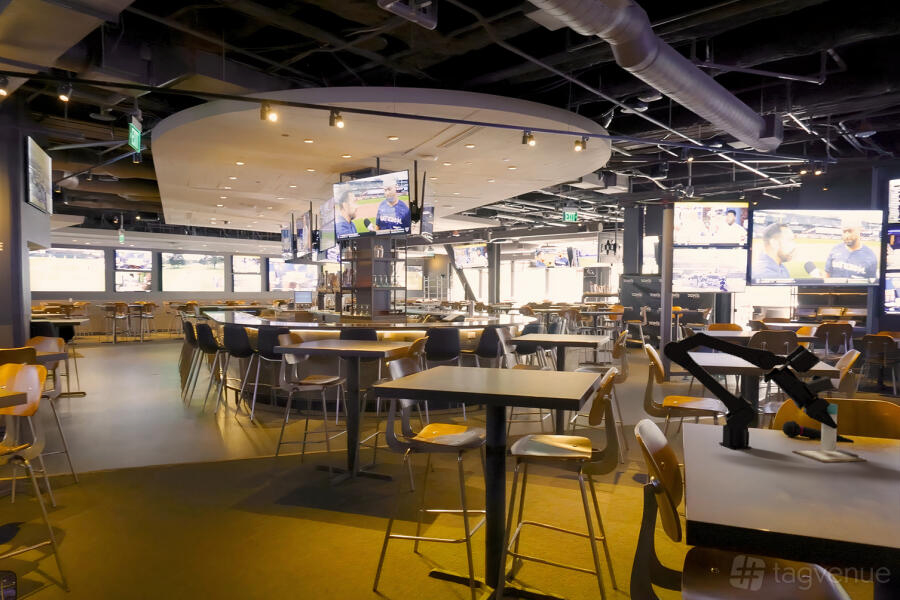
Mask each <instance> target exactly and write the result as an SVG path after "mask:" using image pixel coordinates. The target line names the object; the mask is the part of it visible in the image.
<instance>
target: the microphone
mask: <svg viewBox="0 0 900 600" xmlns="http://www.w3.org/2000/svg"><path fill="white" fill-rule="evenodd" d="M782 432H783V433H784V435H785V436H787V437H789V438H792V439H794V438H797V437H799V436H800V437H803V438H808V439H810V440H821V430H819V429H816V428H811V427H808V426H804V425H800V424H799V423H797V422H796V421H795V420H791V421H785V422H784V423H783V424H782ZM836 442H837V443H838V442H839V443H840V442H844V443H845V442H846V443H854V439H850V438H847V437H844V436H843V435H840V434H838V433H836Z"/></svg>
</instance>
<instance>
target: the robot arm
mask: <svg viewBox="0 0 900 600" xmlns="http://www.w3.org/2000/svg"><path fill="white" fill-rule="evenodd" d="M700 346H702V347H706V348H709V349H712V350H715V351H718V352H721V353H724V354H726V355H730V356H733V357H736V358H739V359H741V360H744V361H746V363H749V364H751V365H752V366H755V367H757V368H759V369H761V370H764V371H768V372H763V373H762V375H763V383H766V384H768V383H769V382H770V381H772V382H773V383H774V384H775V385H776V386H777V387H778V388H779V389H780V390H781V391H782V392H783V393H784V394H785V395H786V396H787V397H788V398H790V399H791V400H792V401H793V403H794V405H795V407H796V408H798V409H799V410H802V409H803V410H802V412H803V413H804V414H806V415H807V416H808V418H810V419H813V420H815V421H817V422H819V423H820V424H822V423H823V424H825V425H827V426H829V427H831V428H834V429H836V428H838V427H839V426H838V425H836V423H835V422H834V420H833V419H832V417H831V416H830V414H829V413H828V411H827V408H828V406H829V405H830V404H831V403H830V402H828V400H827V399H825V398H824V397H820V394H819V393H822V392H825V391H829V390H830V391H831V390H833V389H835V386H834V384H833V382H832V380H831V378H830V377H829V376H821V375H819V374H815V375H812V376H811V380H809V381H808V382H806V381H804V380H803V379H802V380H801V378H800V377H799V376H798V375H799V374H800V373H801V374H803V375H805V374H806V373H808V372H809V371H811V370H812V369H813V368H814V367H815V366H817V365H818V364H819V363H821V360H820V358H819V357H818V356H817V355H815V354H814V353H813V352H811V351H810V350H808V349H807V348H806V347H805V346H804V345H803V344H799V345H797V346H796V347H795V348H794V350H792V351H791V352H790V353H788V354H787V355H786V356H784V355H782V354H781V355H777V354H775V353H774V352H773V351H771V350H769V349H764V348H759V347H758V348H757V347H752V346H750V347H749V346H743V345H741V344H737V343H734V342H730V341H728V340H724V339H721V338H719V337H715V336H712V335H709V334H706V333H704V332H701V331H699V332H695V334H692V335H690V336H687V337H686V338H682V339H681V340H679V341H677V340H671V341H668V342H667V343H665V346H664V348H663V353H664V356H665V357H666V358H667V359H668V360H670V361H671V362H673V363H675V364H676V365H677V366H680V368H683V369H684V370H686V371H687V372H688V373H690V375H691V376H693V377H694V378H695V379H696V381H698V382H699V383H700V384H702V385H703V386H704V387H705V388H706V389H707V390H709V391H710V393H712V394H713V396H715V397H716V398H717V399H719V400H720V401H721V402H722V404H723V405H724V406H725V408H727V411H728V413H727V414H725V415H724V417H723V418H724V421H725V422H726V424H723V425H722V441H719V442H718V443H719V445H721V446H724V447H726V448H729V449H732V450H745V449H746V450H748V449H752V446H750V432H749V431H750V430H749V426H748V425H749V424H750V423H752V422H753V421H754V419H755V418H756V411H755V409H754V408H753V404H752V402H751V401H749V400H747V399H746V398H745V397H744V396H743V395H742V393H740V392H738V393H737V395H736V394H735V393H732V392H730V390H728V389H727V388H726V387H725V386H724V385H722V384H721V383H720V382H719V381H718V380H717V379H716V378H714V376H712V375H711V374H710V373H709V372H708V371H707V370H706V369H705V368H704V367H702V366H701V365H700V363H697V362H696V360H695V359H693V357H692V356H691V355H690V353H689V352H690V351H692V350H694V349H696V348H697V347H700ZM776 366H781V367H779V368H777V367H776ZM791 369H792V370H793V371H794V372H796V374H798V375H796V374H795V373H794V372H793V371H792V370H791Z"/></svg>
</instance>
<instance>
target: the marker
mask: <svg viewBox="0 0 900 600" xmlns="http://www.w3.org/2000/svg"><path fill="white" fill-rule="evenodd" d="M827 411H828V413H829V414H830V416H831V417H832V419H833V420H834V422H835V423H836V425H837V424H838V423H837V422H838V404H836V403H830V405H829V406H828V408H827ZM837 426H838V425H837ZM837 428H838V427H837ZM837 428H836V429H834V428H831V427H829V426H827V425H825V424H823V423H821V428H820V429H821V439H820V450H825V451H831V452H835V451H836V450H837V441H836V434H837V431H838V429H837Z"/></svg>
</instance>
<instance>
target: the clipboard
mask: <svg viewBox="0 0 900 600" xmlns="http://www.w3.org/2000/svg"><path fill="white" fill-rule="evenodd" d="M791 452H792V453H794V454H797V455H799V456H802V457H806V458H809V459H811V460H814V461H817V462H821V463H824V464H825V463H826V462H829V463H850V462H849V461H862V462H867V461H868V460H867V459H866V458H863V457H862V458H861V457H859V454H856V453H853V452H849V451H847V450H843V449H836V451H835V452H831V451H825V450H822V449H820V450H819V449H814V450H791ZM826 464H827V463H826Z"/></svg>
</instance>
